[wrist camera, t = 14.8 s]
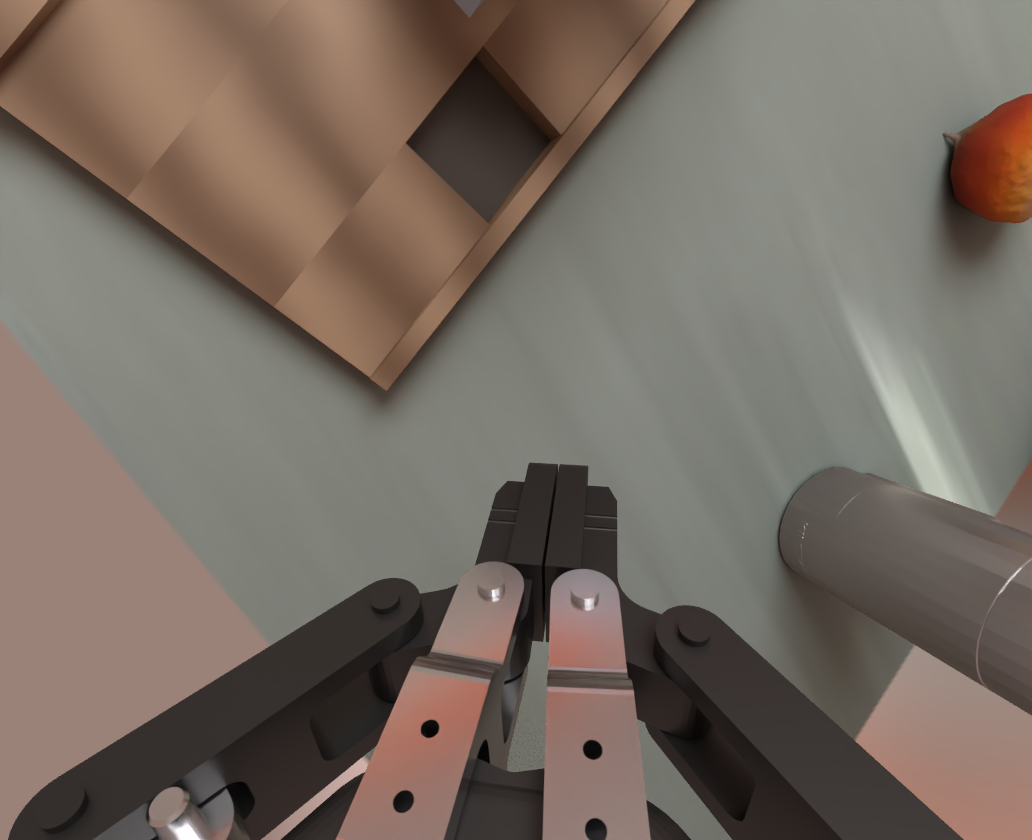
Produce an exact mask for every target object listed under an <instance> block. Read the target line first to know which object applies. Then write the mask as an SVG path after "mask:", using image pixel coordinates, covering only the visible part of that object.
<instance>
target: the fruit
mask: <svg viewBox="0 0 1032 840" xmlns="http://www.w3.org/2000/svg"><path fill="white" fill-rule="evenodd" d="M943 135H944V136H946V137H948V138H950V139H951V140H953V142H954V144H955V150H954V155H953V161H952V167H951V173H950V175H951V181H952V185H953V191H954V196H955V199H956V201H957V202H958V203H959V204H961V205H962V206H964V207H965V208H967V209H968V210H970V211H971V212H973V213H975V214H977V215H980V216H982V217H984V218H986V219H987V220H990V221H994V222H1010V223H1021V222H1024V221H1026V220H1028V219H1029V218H1030V217H1032V94H1026V95H1023V96H1020V97H1018V98H1015V99H1013V100H1011V101H1009V102H1006V103H1004V104H1002V105H1000V106H998V107H997V108H996V109H995V110H993V111H992V112H991V113H990V114H988V115H987V116H986V117H985V116H984V118H982V119H981V120H979V121H977V122H976V123H974V124H973V125H971V126H969V127H967V128H966V129H964V130H962V131H960V132H958V133H956V134H951V133H948V132H946V131H945V133H943Z"/></svg>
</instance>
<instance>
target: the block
mask: <svg viewBox="0 0 1032 840" xmlns="http://www.w3.org/2000/svg"><path fill="white" fill-rule="evenodd" d="M454 1H455V2H456V3H457V4H458V6H459V7H460V8H461V9H462V10H463V11H464V12H465V14H466V15H467V16H468V17H469V18H470V17H471V16H472V15H473V13H474V12H475V11H476V10H477V8H478V7H479V6H480V5H481V3H482V2H483V1H484V0H454Z"/></svg>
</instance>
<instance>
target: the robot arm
mask: <svg viewBox="0 0 1032 840" xmlns="http://www.w3.org/2000/svg"><path fill="white" fill-rule="evenodd" d="M779 541H780V550H781V553H782V556H783V559H784V560H785V562H786V563H787V565H788V566H789V567H790V568H791V569H792V570H793V571H795V572H796V573H798V574H799V575H801V576H803V577H804V578H806V579H808V580H809V581H811V582H813V583H814V584H816V585H818V586H819V587H821V588H822V589H824V590H826V591H827V592H829V593H831V594H832V595H834V596H835V597H837V598H838V599H840V600H842V601H843V602H845V603H847V604H848V605H850V606H852V607H853V608H855V609H857V610H858V611H860V612H862V613H863V614H865V615H867V616H868V617H870V618H871V619H873V620H875V621H876V622H878V623H880V624H881V625H883V626H885V627H886V628H888V629H890V630H891V631H893V632H895V633H896V634H898V635H899V636H901V637H903V638H904V639H906V640H908V641H909V642H911V643H913V644H914V645H916V646H918V647H920V648H921V649H923V650H924V651H926V652H928V653H929V654H931V655H932V656H934V657H936V658H937V659H939V660H941V661H942V662H944V663H946V664H947V665H949V666H951V667H952V668H954V669H956V670H957V671H959V672H961V673H962V674H964V675H966V676H967V677H969V678H971V679H972V680H974V681H975V682H977V683H979V684H980V685H982V686H984V687H985V688H987V689H989V690H990V691H992V692H994V693H996V694H997V695H999V696H1000V697H1002V698H1004V699H1005V700H1007V701H1009V702H1010V703H1012V704H1014V705H1015V706H1017V707H1019V708H1020V709H1022V710H1024V711H1025V712H1027V713H1028V714H1030V715H1032V535H1031V534H1028V533H1025V532H1023V531H1020V530H1017V529H1015V528H1012V527H1009V526H1006V525H1003V524H1001V522H1000V521H999V520H998V519H997V518H995V517H993V516H990V515H987V514H984V513H982V512H979V511H976V510H973V509H970V508H967V507H964V506H962V505H959V504H956V503H953V502H950V501H947V500H945V499H942V498H939V497H936V496H933V495H930V494H927V493H925V492H922V491H919V490H916V489H913V488H910V487H908V486H905V485H902V484H899V483H896V482H893V481H890V480H888V479H885V478H882V477H879V476H876V475H873V474H870V473H868V474H862V473H859V472H856V471H853V470H850V469H846V468H842V467H839V468H830V469H827V470H824V471H821V472H820V473H818V474H816V475H814V476H813V477H811V478H810V479H809V480H808V481H807V482H805V483H804V484H803V485H802V486H801V487H800V489H799V490H798V491H797V492H796V493H795V495H794V496H793V498H792V499H791V501H790V503H789V504H788V507H787V509H786V511H785V513H784V516H783V519H782V523H781V527H780V537H779ZM545 623H546V642H549V669H548V678H547V706H546V740H545V768H544V769H537V770H530V771H522V772H508V771H507V762H508V756H509V750H510V746H511V742H512V738H513V733H514V729H515V725H516V720H517V716H518V712H519V708H520V703H521V699H522V695H523V690H524V686H525V682H526V678H527V672H528V662H529V659H530V653H531V646H532V641H541V642H543V638H544V631H545ZM637 719H639V720H641V721H643V722H645V724H646V728H647V730H648V732H649V734H650V735H651V737H652V738H653V739H654V741H655V742H656V743H657V745H658V746H659V747H660V748H661V750H662V751H663V752H664V753H665V755H666V756H667V757H668V758H669V760H670V761H671V762H672V764H673V765H674V766H675V767H676V769H677V770H678V771H679V772H680V774H681V775H682V776H683V777H684V779H685V780H686V781H687V783H688V784H689V785H690V786H691V788H692V789H693V790H694V791H695V793H696V794H697V795H698V796H699V798H700V799H701V800H702V802H703V803H704V804H705V805H706V807H707V808H708V809H709V810H710V812H711V813H712V814H713V815H714V817H715V818H716V819H717V821H718V822H719V823H720V824H721V826H722V827H723V828H724V829H725V831H726V832H727V833H728V835H729V836H730V837H731V838H732V840H963V839H962V838H961V837H960V836H959V835H958V834H957V833H956V832H955V831H954V830H952V829H951V828H950V827H949V826H948V825H947V824H946V823H945V822H944V821H942V820H941V819H940V818H939V817H938V816H937V815H936V814H935V813H934V812H932V811H931V810H930V809H929V808H928V807H927V806H926V805H925V804H924V803H923V802H922V801H920V800H919V799H918V798H917V797H916V796H915V795H914V794H913V793H912V792H911V791H909V790H908V789H907V788H906V787H905V786H904V785H903V784H902V783H900V782H899V781H898V780H897V779H896V778H895V777H894V776H893V775H892V774H891V773H890V772H888V771H887V770H886V769H885V768H884V767H883V766H881V764H880V763H878V762H877V761H876V760H875V759H874V758H873V757H872V756H871V755H869V753H867V752H866V751H865V750H864V749H863V748H862V747H861V746H860V745H859V744H858V743H856V742H855V741H854V740H853V739H852V738H851V737H850V736H849V735H848V734H847V733H845V732H844V731H843V730H842V729H841V728H840V727H839V726H838V725H837V724H836V723H834V722H833V721H832V720H831V719H830V718H829V717H828V716H827V715H826V714H825V713H823V712H822V711H821V710H820V709H819V708H818V707H817V706H816V705H815V704H813V703H812V702H811V701H810V700H809V699H808V698H807V697H806V696H805V695H804V694H802V693H801V692H800V691H799V690H798V689H797V688H796V687H795V686H794V685H793V684H791V683H790V682H789V681H788V680H787V679H786V678H785V677H784V676H783V675H782V674H780V673H779V672H778V671H777V670H776V669H775V668H774V667H773V666H772V665H770V664H769V663H768V662H767V661H766V660H765V659H764V658H763V657H762V656H761V655H759V654H758V653H757V652H756V651H755V650H754V649H753V648H752V647H751V646H750V645H748V644H747V643H746V642H745V641H744V640H743V639H742V638H741V637H740V636H739V635H737V634H736V633H735V632H734V631H733V630H732V629H731V628H730V627H729V626H728V625H726V624H725V623H724V622H723V621H722V620H721V619H720V618H718V617H717V616H716V615H714V614H713V613H711V612H709V611H707V610H705V609H702V608H699V607H695V606H687V605H683V606H676V607H673V608H670V609H668V610H666V611H665V612H664V613H663V614H659V613H656V612H653V611H651V610H648V609H645V608H643V607H641V606H639V605H637V604H636V603H634V602H633V601H631V600H630V599H629V598H628V597H627V596H626V595H625V594H624V592H623V591H622V590H621V588H620V586H619V583H618V578H617V500H616V498H615V497H614V495H613V494H612V492H611V490H610V489H609V487H600V486H588V466H582V465H564V464H560V466H559V472H558V464H544V463H529V465H528V469H527V474H526V478H525V482H516V481H507V482H506V483H505V484H504V485H503V486H502V487H501V489H500V490H499V491H498V492H497V493H496V495H495V498H494V502H493V505H492V510H491V512H490V516H489V519H488V523H487V526H486V529H485V533H484V536H483V540H482V543H481V547H480V550H479V554H478V557H477V560H476V564H475V566H473V567H472V568H470V569H469V570H468V571H466V572H465V573H464V575H463V576H462V577H461V579H460V581H459V584H457V585H455V586H453V587H450V588H448V589H444V590H439V591H434V592H428V593H423V594H420V593H419V591H418V589H417V588H416V586H415V585H414V584H412V583H411V582H409V581H407V580H404V579H399V578H388V579H383V580H379V581H376V582H374V583H372V584H370V585H368V586H367V587H365V588H363V589H362V590H360V591H359V592H357V593H355V594H354V595H352V596H351V597H349V598H347V599H346V600H344V601H342V602H341V603H339V604H338V605H336V606H334V607H333V608H331V609H329V610H328V611H326V612H325V613H323V614H321V615H320V616H318V617H317V618H315V619H313V620H312V621H310V622H308V623H307V624H305V625H304V626H302V627H300V628H299V629H297V630H295V631H294V632H292V633H291V634H289V635H287V636H286V637H284V638H283V639H281V640H279V641H278V642H276V643H274V644H273V645H271V646H270V647H268V648H266V649H265V650H263V651H262V652H260V653H258V654H257V655H255V656H253V657H252V658H250V659H249V660H247V661H245V662H244V663H242V664H241V665H239V666H237V667H236V668H234V669H233V670H231V671H229V672H228V673H226V674H224V675H223V676H221V677H219V678H218V679H216V680H215V681H213V682H211V683H210V684H208V685H206V686H205V687H203V688H202V689H200V690H199V691H197V692H195V693H194V694H192V695H190V696H189V697H187V698H185V699H184V700H182V701H181V702H179V703H178V704H176V705H174V706H173V707H171V708H169V709H168V710H166V711H165V712H163V713H161V714H160V715H158V716H156V717H155V718H153V719H152V720H150V721H148V722H147V723H145V724H143V725H142V726H140V727H138V728H137V729H136V730H134V731H132V732H130V733H129V734H127V735H126V736H124V737H122V738H121V739H119V740H117V741H116V742H114V743H113V744H111V745H109V746H108V747H106V748H105V749H103V750H101V751H100V752H98V753H96V754H95V755H93V756H92V757H90V758H88V759H87V760H85V761H84V762H82V763H80V764H79V765H77V766H75V767H74V768H72V769H71V770H69V771H67V772H66V773H64V774H62V775H61V776H59V777H58V778H57V779H55V780H53V781H52V782H50V783H49V784H48V785H46V786H45V787H44V788H43V789H41V790H40V791H39V792H38V793H37V794H36V795H35V796H34V797H33V798H32V799H31V800H30V802H29V803H28V804H27V805H26V806H25V808H24V809H23V810H22V811H21V813H20V814H19V816H18V817H17V819H16V821H15V823H14V824H13V827H12V829H11V831H10V835H9V838H8V840H261V839H262V838H263V837H264V836H266V835H267V834H268V833H269V832H271V830H273V829H274V828H276V827H277V826H278V825H279V824H280V823H282V822H283V821H284V820H285V819H287V818H288V817H289V816H290V815H291V814H293V813H294V812H295V811H296V810H298V809H299V808H300V807H301V806H303V805H304V804H305V803H306V802H308V801H309V800H310V799H311V798H312V797H313V796H315V795H316V794H317V793H318V792H320V791H321V790H322V789H323V788H325V787H326V786H327V785H328V784H330V783H331V782H332V781H333V780H335V779H336V778H337V777H338V776H339V775H341V774H342V773H343V772H344V771H346V770H347V769H348V768H349V767H351V766H352V765H353V764H354V763H356V762H357V761H358V760H359V759H360V758H362V757H363V756H364V755H365V754H367V753H368V752H369V751H370V750H372V749H373V748H374V747H375V746H376V745H377V746H376V748H375V751H374V753H373V755H372V758H371V760H370V762H369V765H368V767H367V769H366V771H365V772H364V773H362V774H360V775H359V776H357V777H355V778H353V779H352V780H351V781H349V782H348V783H346V784H345V785H343V786H342V787H341V788H340V789H338V790H337V791H336V792H335V793H334V794H332V795H331V796H330V797H329V798H328V799H327V800H325V801H324V802H323V803H322V804H321V805H320V806H319V807H317V808H316V809H315V810H314V811H313V812H312V813H311V814H309V815H308V816H307V817H306V818H305V819H304V820H303V821H301V822H300V823H299V824H298V825H297V826H296V827H295V828H293V829H292V830H291V831H290V832H289V833H288V834H287V835H286V836H284V837H283V838H282V839H281V840H691V839H690V838H689V837H688V836H687V835H686V833H685V832H684V831H683V830H682V829H681V828H680V827H679V825H678V824H676V823H675V822H674V821H673V820H672V819H671V818H670V817H669V816H668V815H667V814H666V813H664V812H663V811H662V810H660V809H659V808H658V807H656V806H655V805H654V804H652V803H650V802H649V801H647V800H646V794H645V785H644V776H643V767H642V758H641V750H640V741H639V732H638V723H637Z"/></svg>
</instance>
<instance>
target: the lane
mask: <svg viewBox="0 0 1032 840" xmlns="http://www.w3.org/2000/svg"><path fill="white" fill-rule="evenodd" d="M694 1H695V0H484V1H483V2H482V3H481V5H480V6H479V7H478V8H477V10H476V11H475V12H474V13H473V15H472V16H471V17H470V18H469V17H468V16H467V15H466V14H465V12H464V11H463V10H462V9H461V8H460V7H459V6H458V4H457V3H456V2H455V1H454V0H0V106H1V107H2V108H3V109H5V110H6V111H8V112H9V113H10V114H12V115H13V116H14V117H16V118H17V119H18V120H20V121H21V122H23V123H24V124H25V125H27V126H28V127H29V128H31V129H32V130H33V131H35V132H36V133H37V134H39V135H40V136H42V137H43V138H44V139H46V140H47V141H48V142H50V143H51V144H52V145H54V146H55V147H57V148H58V149H59V150H61V151H62V152H63V153H65V154H66V155H67V156H69V157H70V158H72V159H73V160H74V161H76V162H77V163H78V164H80V165H81V166H82V167H84V168H85V169H87V170H88V171H89V172H91V173H92V174H93V175H95V176H96V177H97V178H99V179H100V180H102V181H103V182H104V183H106V184H107V185H108V186H110V187H111V188H112V189H114V190H115V191H116V192H118V193H119V194H121V195H122V196H123V197H125V198H126V199H127V200H129V201H130V202H131V203H133V204H134V205H136V206H137V207H138V208H140V209H141V210H142V211H144V212H145V213H146V214H148V215H149V216H151V217H152V218H153V219H155V220H156V221H157V222H159V223H160V224H161V225H163V226H164V227H166V228H167V229H168V230H170V231H171V232H172V233H174V234H175V235H176V236H178V237H179V238H181V239H182V240H183V241H185V242H186V243H187V244H189V245H190V246H191V247H193V248H194V249H195V250H197V251H198V252H200V253H201V254H202V255H204V256H205V257H206V258H208V259H209V260H210V261H212V262H213V263H215V264H216V265H217V266H219V267H220V268H221V269H223V270H224V271H225V272H227V273H228V274H230V275H231V276H232V277H234V278H235V279H236V280H238V281H239V282H240V283H242V284H243V285H245V286H246V287H247V288H249V289H250V290H251V291H253V292H254V293H255V294H257V295H258V296H260V297H261V298H262V299H264V300H265V301H266V302H268V303H269V304H270V305H272V306H273V307H274V308H276V309H277V310H279V311H280V312H281V313H283V314H284V315H285V316H287V317H288V318H289V319H291V320H292V321H294V322H295V323H296V324H298V325H299V326H300V327H302V328H303V329H304V330H306V331H307V332H309V333H310V334H311V335H313V336H314V337H315V338H317V339H318V340H319V341H321V342H322V343H324V344H325V345H326V346H328V347H329V348H330V349H332V350H333V351H334V352H336V353H337V354H339V355H340V356H341V357H343V358H344V359H345V360H347V361H348V362H349V363H351V364H352V365H353V366H355V367H356V368H358V369H359V370H360V371H362V372H363V373H364V374H366V375H367V376H368V377H370V379H371V380H372V381H374V382H375V383H377V384H378V385H379V386H381V387H382V388H383V389H385V390H386V391H387V390H388V389H389V387H390V386H391V385H392V383H393V382H394V381H395V380H396V378H397V377H398V376H399V375H400V373H401V372H402V371H403V370H404V368H405V367H406V366H407V364H408V363H409V362H410V361H411V359H412V358H413V357H414V356H415V354H416V353H417V352H418V351H419V349H420V348H421V347H422V345H423V344H424V343H425V342H426V340H427V339H428V338H429V337H430V335H431V334H432V333H433V332H434V330H435V329H436V328H437V327H438V325H439V324H440V323H441V321H442V320H443V319H444V318H445V316H446V315H447V314H448V313H449V311H450V310H451V309H452V308H453V306H454V305H455V304H456V302H457V301H458V300H459V299H460V297H461V296H462V295H463V294H464V292H465V291H466V290H467V289H468V287H469V286H470V285H471V283H472V282H473V281H474V280H475V278H476V277H477V276H478V275H479V273H480V272H481V271H482V270H483V268H484V267H485V266H486V265H487V263H488V262H489V261H490V259H491V258H492V257H493V256H494V254H495V253H496V252H497V251H498V249H499V248H500V247H501V246H502V244H503V243H504V242H505V240H506V239H507V238H508V237H509V235H510V234H511V233H512V232H513V230H514V229H515V228H516V227H517V225H518V224H519V223H520V221H521V220H522V219H523V218H524V216H525V215H526V214H527V213H528V211H529V210H530V209H531V208H532V206H533V205H534V204H535V203H536V201H537V200H538V199H539V197H540V196H541V195H542V194H543V192H544V191H545V190H546V189H547V187H548V186H549V185H550V184H551V182H552V181H553V180H554V178H555V177H556V176H557V175H558V173H559V172H560V171H561V170H562V168H563V167H564V166H565V165H566V163H567V162H568V161H569V159H570V158H571V157H572V156H573V154H574V153H575V152H576V151H577V149H578V148H579V147H580V146H581V144H582V143H583V142H584V141H585V139H586V138H587V137H588V135H589V134H590V133H591V132H592V130H593V129H594V128H595V127H596V125H597V124H598V123H599V122H600V120H601V119H602V118H603V116H604V115H605V114H606V113H607V111H608V110H609V109H610V108H611V106H612V105H613V104H614V103H615V101H616V100H617V99H618V97H619V96H620V95H621V94H622V92H623V91H624V90H625V89H626V87H627V86H628V85H629V84H630V82H631V81H632V80H633V79H634V77H635V76H636V75H637V73H638V72H639V71H640V70H641V68H642V67H643V66H644V65H645V63H646V62H647V61H648V60H649V58H650V57H651V56H652V54H653V53H654V52H655V51H656V49H657V48H658V47H659V46H660V44H661V43H662V42H663V41H664V39H665V38H666V37H667V36H668V34H669V33H670V32H671V30H672V29H673V28H674V27H675V25H676V24H677V23H678V22H679V20H680V19H681V18H682V17H683V15H684V14H685V13H686V11H687V10H688V9H689V8H690V6H691V5H692V4H693V3H694Z"/></svg>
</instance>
